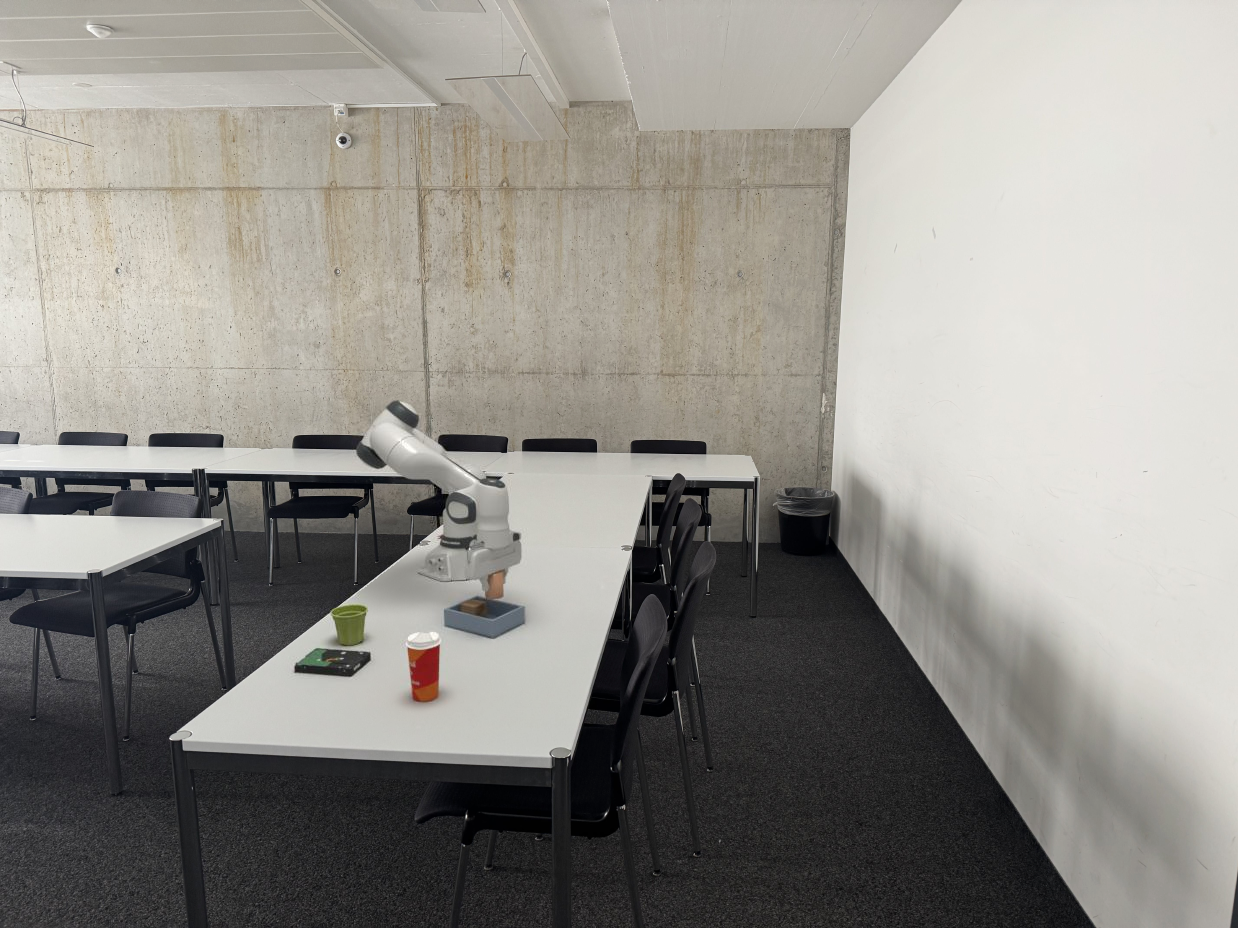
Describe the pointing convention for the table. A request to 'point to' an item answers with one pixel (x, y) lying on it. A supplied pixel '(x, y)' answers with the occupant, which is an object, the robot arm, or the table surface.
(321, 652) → the disk drive
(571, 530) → the table surface
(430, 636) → the paper cup
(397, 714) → the table surface
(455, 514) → the robot arm
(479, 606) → the walnut cube
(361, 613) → the plant pot
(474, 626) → the tote
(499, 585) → the terracotta cylinder
